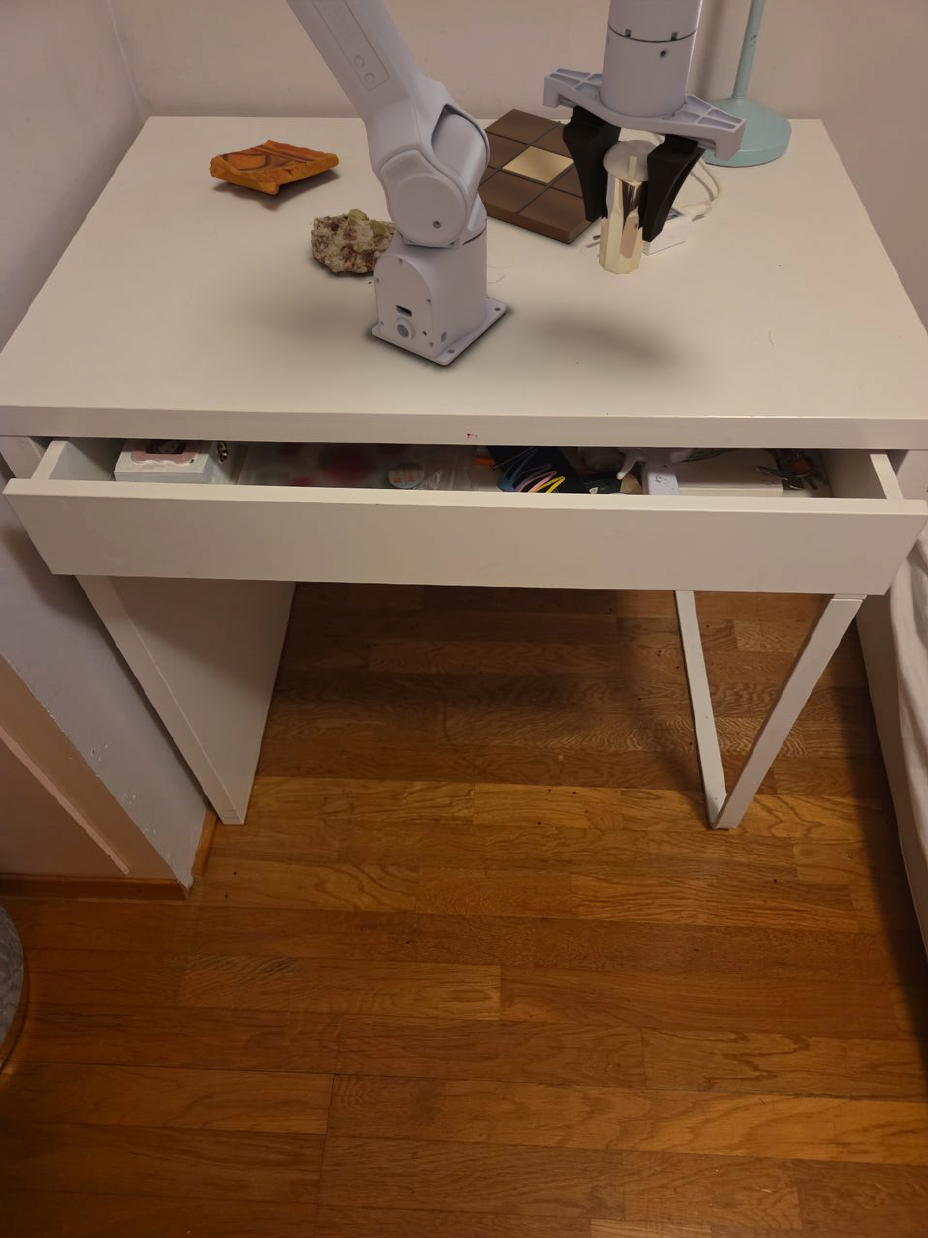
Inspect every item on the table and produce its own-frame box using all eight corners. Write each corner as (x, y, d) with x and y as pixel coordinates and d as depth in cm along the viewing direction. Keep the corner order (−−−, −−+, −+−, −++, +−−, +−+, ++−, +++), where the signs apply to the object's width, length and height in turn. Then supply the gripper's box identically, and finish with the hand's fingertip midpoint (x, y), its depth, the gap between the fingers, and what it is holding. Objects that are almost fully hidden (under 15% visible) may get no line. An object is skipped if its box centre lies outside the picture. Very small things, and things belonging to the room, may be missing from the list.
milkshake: (584, 280, 69) (600, 151, 61) (595, 243, 72) (612, 114, 64) (642, 289, 68) (666, 159, 60) (651, 251, 71) (675, 122, 63)
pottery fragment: (202, 159, 88) (263, 101, 92) (218, 199, 92) (275, 143, 96) (282, 188, 85) (341, 127, 89) (294, 229, 89) (350, 169, 93)
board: (568, 243, 84) (570, 230, 83) (416, 189, 90) (415, 177, 89) (657, 163, 92) (659, 150, 91) (512, 119, 98) (513, 106, 97)
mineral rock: (290, 249, 80) (319, 182, 82) (301, 283, 84) (329, 218, 86) (403, 270, 78) (429, 201, 81) (409, 304, 82) (434, 237, 85)
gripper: (784, 27, 56) (734, 230, 67) (586, -21, 61) (570, 175, 72) (736, 68, 52) (691, 275, 63) (531, 14, 58) (522, 214, 69)
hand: (624, 225), depth 67 cm, fingers closed on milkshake, 4 cm apart
